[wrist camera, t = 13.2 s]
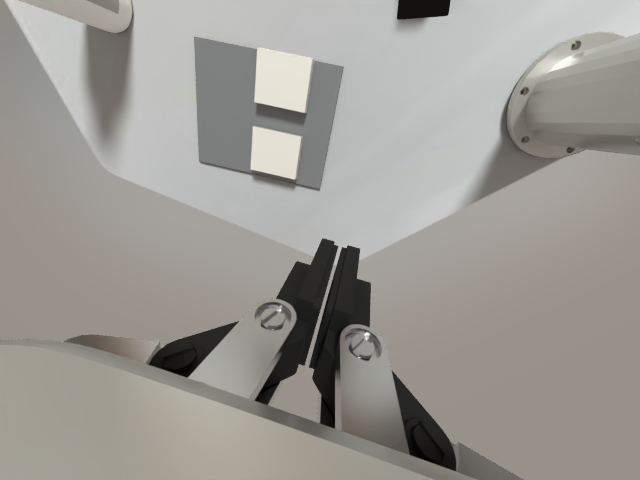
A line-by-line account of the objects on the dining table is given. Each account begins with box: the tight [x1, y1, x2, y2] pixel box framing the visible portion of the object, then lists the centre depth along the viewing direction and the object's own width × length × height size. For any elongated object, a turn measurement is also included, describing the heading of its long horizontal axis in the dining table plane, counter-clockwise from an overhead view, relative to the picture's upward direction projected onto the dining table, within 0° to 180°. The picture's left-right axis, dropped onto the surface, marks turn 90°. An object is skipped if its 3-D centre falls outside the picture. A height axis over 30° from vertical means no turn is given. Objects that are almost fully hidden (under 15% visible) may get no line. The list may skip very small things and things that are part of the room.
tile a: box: [254, 47, 314, 113], centre depth 32 cm, size 2×6×7 cm
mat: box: [194, 37, 343, 189], centre depth 35 cm, size 20×16×1 cm
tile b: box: [250, 126, 303, 180], centre depth 36 cm, size 2×6×7 cm
